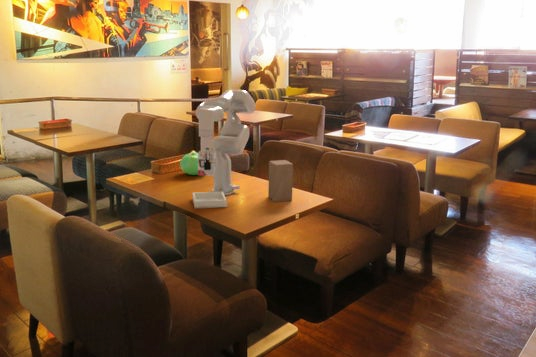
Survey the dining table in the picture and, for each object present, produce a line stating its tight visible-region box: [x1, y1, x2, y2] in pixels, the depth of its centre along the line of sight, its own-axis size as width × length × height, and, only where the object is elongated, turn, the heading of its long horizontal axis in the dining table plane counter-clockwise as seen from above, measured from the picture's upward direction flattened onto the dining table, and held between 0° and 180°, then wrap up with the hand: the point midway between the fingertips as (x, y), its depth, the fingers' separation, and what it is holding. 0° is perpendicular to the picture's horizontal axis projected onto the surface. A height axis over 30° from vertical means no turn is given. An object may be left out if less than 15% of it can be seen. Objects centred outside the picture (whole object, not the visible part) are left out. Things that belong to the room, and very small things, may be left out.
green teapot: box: [179, 150, 199, 176], centre depth 314 cm, size 18×17×15 cm
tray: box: [192, 191, 228, 209], centre depth 259 cm, size 16×16×4 cm
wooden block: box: [267, 159, 294, 203], centre depth 267 cm, size 10×10×20 cm
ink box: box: [197, 150, 216, 177], centre depth 254 cm, size 9×5×12 cm, turn 90°
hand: (206, 168), depth 254 cm, fingers closed on ink box, 5 cm apart
